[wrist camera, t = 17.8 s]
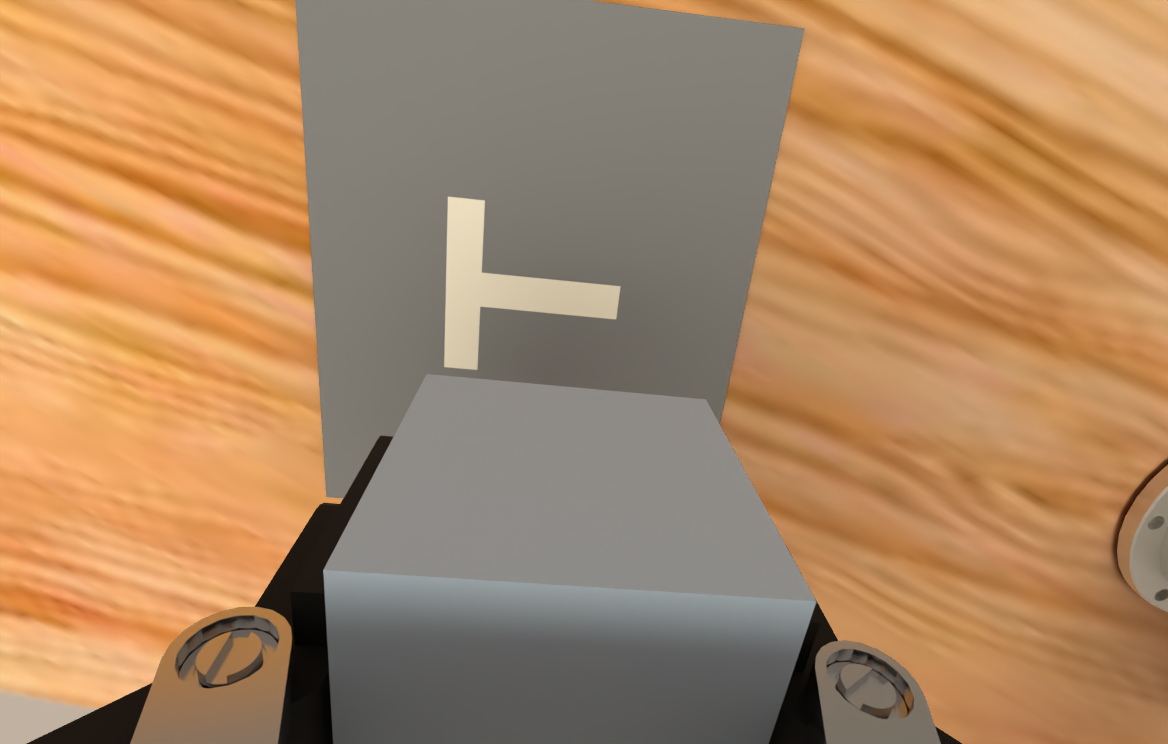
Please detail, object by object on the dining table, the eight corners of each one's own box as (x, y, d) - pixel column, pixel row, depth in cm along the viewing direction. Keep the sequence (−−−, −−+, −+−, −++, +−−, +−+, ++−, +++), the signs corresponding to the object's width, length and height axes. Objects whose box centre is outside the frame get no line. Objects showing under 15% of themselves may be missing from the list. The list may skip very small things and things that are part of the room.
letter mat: (803, 29, 24) (805, 28, 24) (697, 523, 33) (698, 524, 33) (294, -38, 23) (292, -39, 23) (327, 495, 32) (326, 497, 31)
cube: (705, 398, 11) (816, 602, 6) (660, 611, 13) (719, 888, 8) (427, 373, 10) (323, 570, 6) (422, 597, 12) (340, 881, 8)
